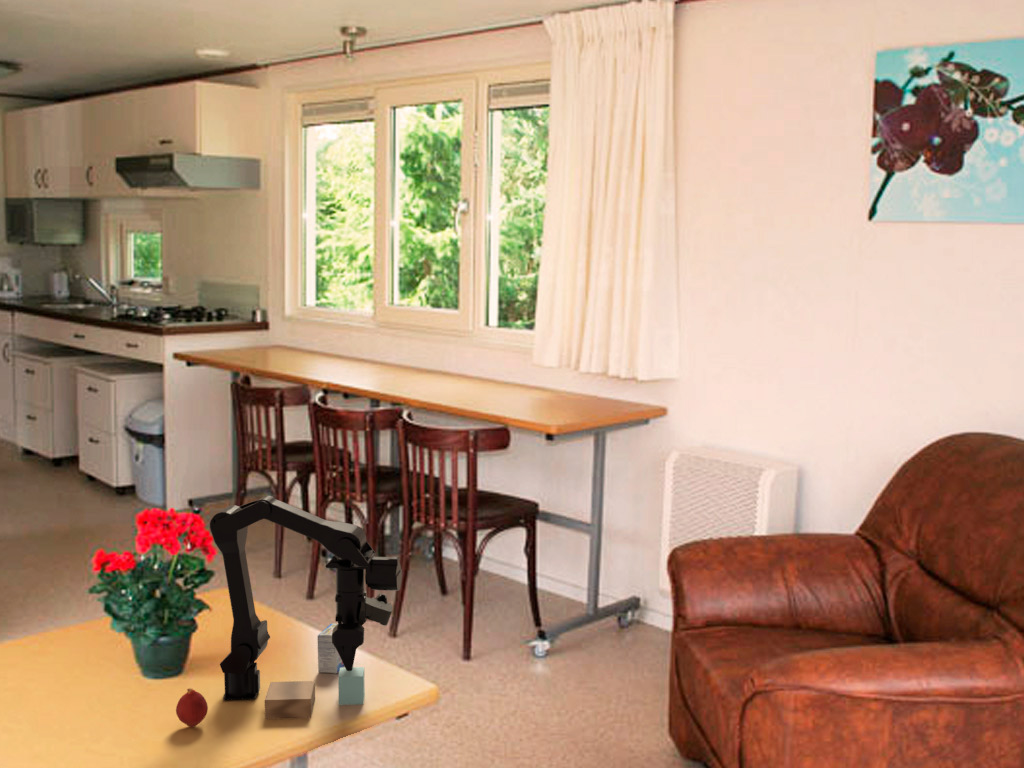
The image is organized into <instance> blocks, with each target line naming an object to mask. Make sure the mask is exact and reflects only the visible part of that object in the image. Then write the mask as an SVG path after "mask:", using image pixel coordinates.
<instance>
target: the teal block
mask: <svg viewBox="0 0 1024 768" xmlns="http://www.w3.org/2000/svg"><path fill="white" fill-rule="evenodd" d="M337 680H338V706H346V705H347V706H350V705H355V706H356V705H364V703H365V702H364V701H365V695H366V694H365V693H366V692H365V688H366V687H365V667H364V666H353V669H352V671H347V670H346V668H345V666H343V667H342V668H340V670H339V672H338V679H337Z"/></svg>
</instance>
